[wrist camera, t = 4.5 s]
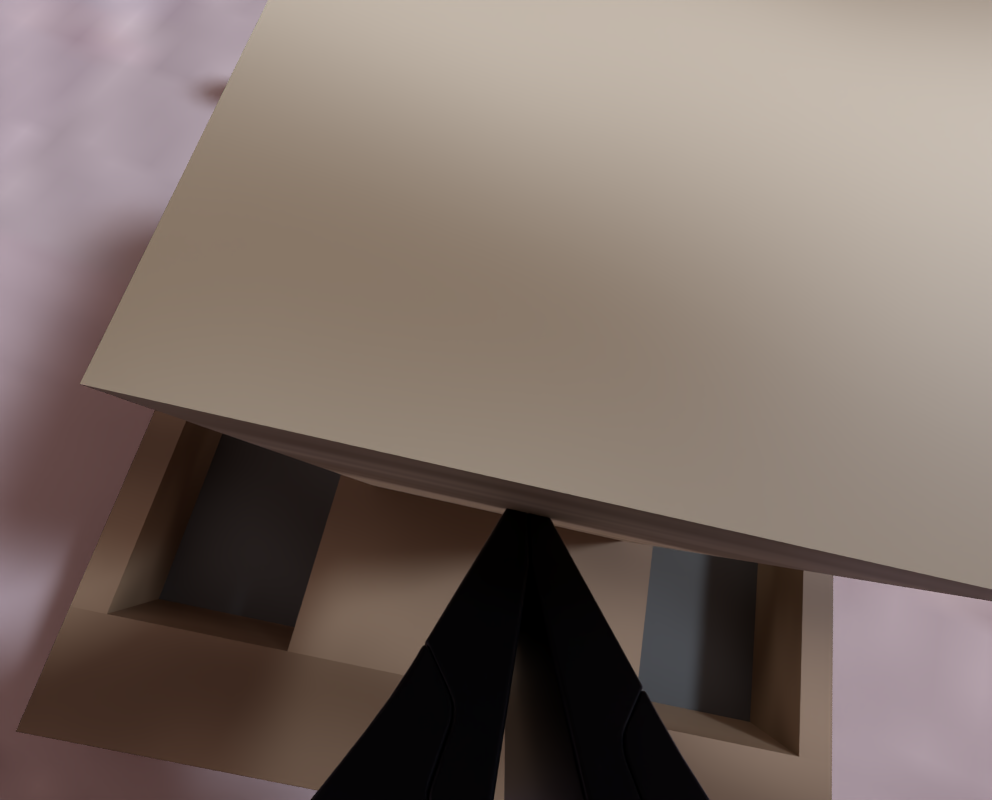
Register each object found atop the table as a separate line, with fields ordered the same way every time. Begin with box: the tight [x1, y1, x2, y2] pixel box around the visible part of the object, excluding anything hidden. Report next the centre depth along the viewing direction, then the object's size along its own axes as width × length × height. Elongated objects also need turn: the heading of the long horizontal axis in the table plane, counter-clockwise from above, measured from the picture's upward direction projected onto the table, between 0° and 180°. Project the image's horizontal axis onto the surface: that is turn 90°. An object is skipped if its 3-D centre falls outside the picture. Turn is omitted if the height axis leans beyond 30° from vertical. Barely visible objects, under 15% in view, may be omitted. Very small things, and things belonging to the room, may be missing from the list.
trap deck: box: [16, 410, 833, 800], centre depth 15 cm, size 25×22×6 cm
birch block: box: [80, 0, 992, 601], centre depth 10 cm, size 12×8×11 cm, turn 168°
